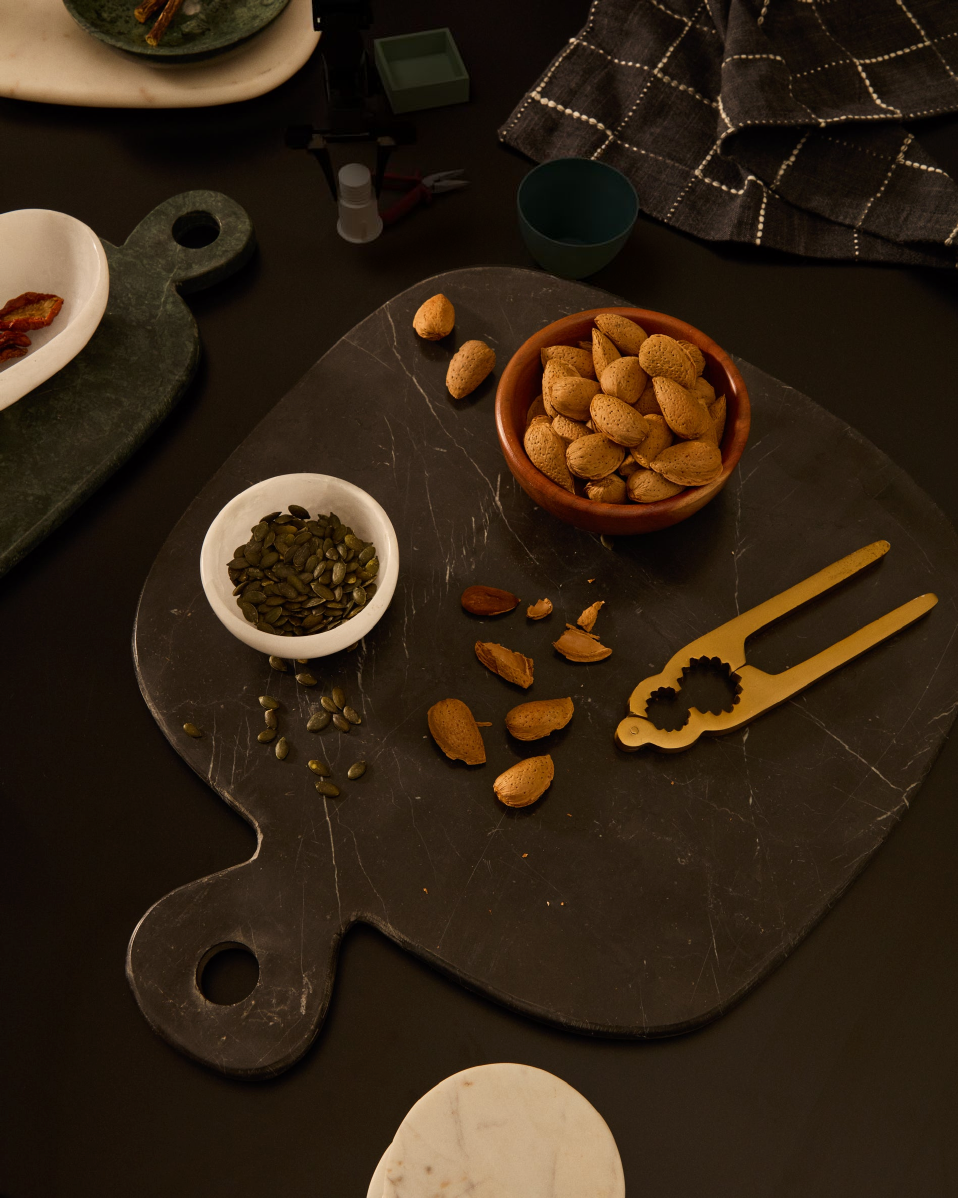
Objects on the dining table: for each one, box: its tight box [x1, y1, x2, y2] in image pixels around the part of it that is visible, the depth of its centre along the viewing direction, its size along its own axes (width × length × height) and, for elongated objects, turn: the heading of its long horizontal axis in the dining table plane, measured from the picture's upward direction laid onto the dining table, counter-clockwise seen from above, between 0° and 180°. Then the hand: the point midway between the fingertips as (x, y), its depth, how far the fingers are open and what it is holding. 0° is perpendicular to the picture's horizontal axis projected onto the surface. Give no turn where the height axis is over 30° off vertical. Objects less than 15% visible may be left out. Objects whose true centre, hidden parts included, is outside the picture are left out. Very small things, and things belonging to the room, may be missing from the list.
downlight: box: [336, 162, 384, 244], centre depth 145 cm, size 8×7×10 cm
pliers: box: [369, 168, 471, 228], centre depth 160 cm, size 12×20×3 cm, turn 110°
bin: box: [373, 27, 470, 115], centre depth 171 cm, size 14×14×5 cm
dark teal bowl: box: [516, 156, 640, 281], centre depth 151 cm, size 18×18×12 cm
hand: (356, 200), depth 143 cm, fingers closed on downlight, 6 cm apart
